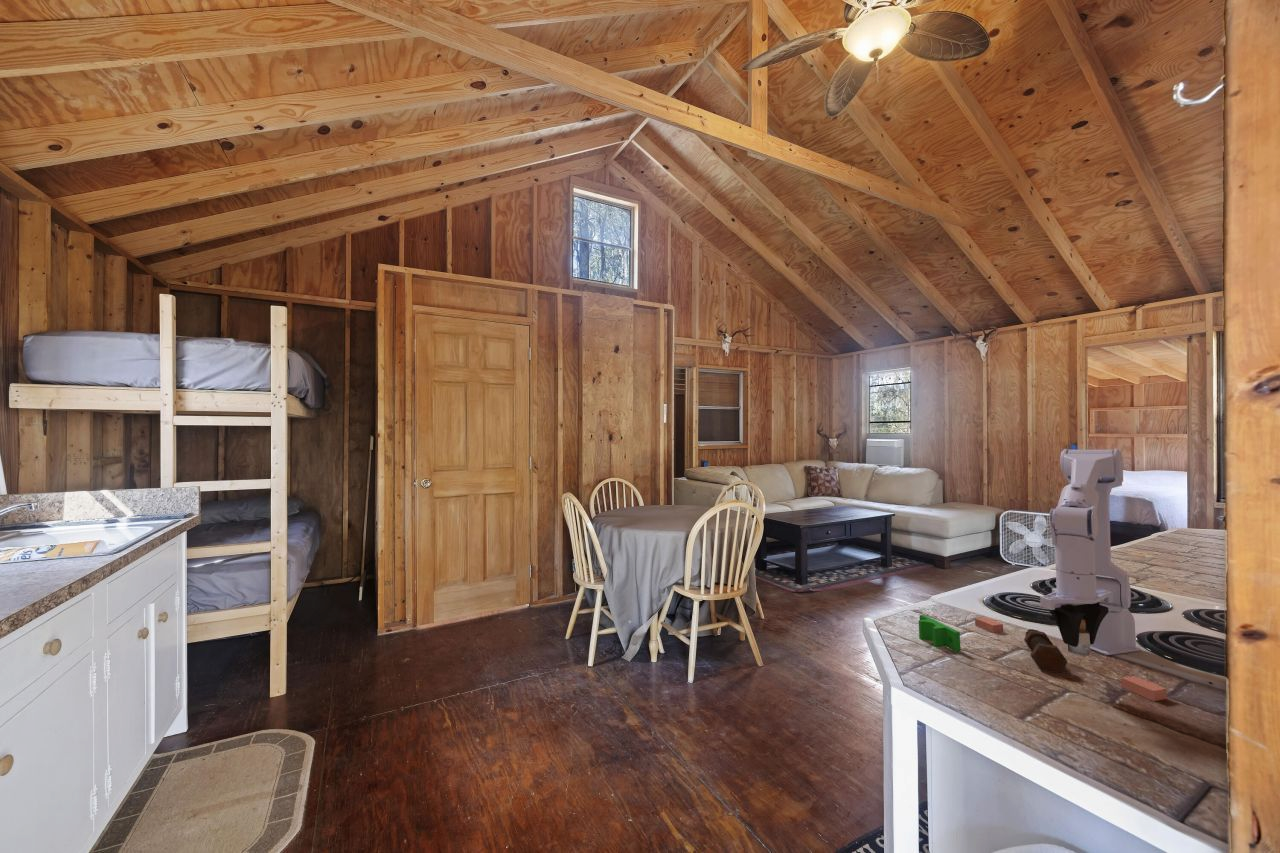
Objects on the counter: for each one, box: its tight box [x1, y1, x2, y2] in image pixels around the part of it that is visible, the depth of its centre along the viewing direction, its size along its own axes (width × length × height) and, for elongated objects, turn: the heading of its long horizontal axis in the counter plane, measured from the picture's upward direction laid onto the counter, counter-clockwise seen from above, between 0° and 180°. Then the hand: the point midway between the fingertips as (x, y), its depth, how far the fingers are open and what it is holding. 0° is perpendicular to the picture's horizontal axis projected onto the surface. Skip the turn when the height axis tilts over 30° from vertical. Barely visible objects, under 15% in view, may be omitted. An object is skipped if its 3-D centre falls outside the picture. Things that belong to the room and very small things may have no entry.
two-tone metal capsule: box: [1067, 617, 1091, 657], centre depth 94 cm, size 3×3×6 cm
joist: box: [974, 616, 1004, 634], centre depth 123 cm, size 3×5×2 cm, turn 12°
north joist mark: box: [1120, 675, 1168, 702], centre depth 92 cm, size 3×5×2 cm, turn 12°
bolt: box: [1023, 628, 1068, 674], centre depth 108 cm, size 6×5×15 cm
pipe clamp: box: [918, 614, 961, 653], centre depth 116 cm, size 11×4×5 cm, turn 9°
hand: (1078, 643), depth 95 cm, fingers closed on two-tone metal capsule, 3 cm apart
